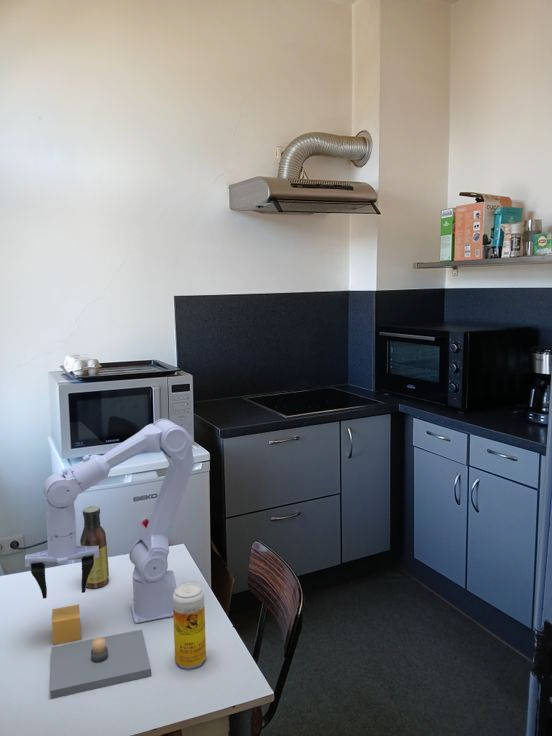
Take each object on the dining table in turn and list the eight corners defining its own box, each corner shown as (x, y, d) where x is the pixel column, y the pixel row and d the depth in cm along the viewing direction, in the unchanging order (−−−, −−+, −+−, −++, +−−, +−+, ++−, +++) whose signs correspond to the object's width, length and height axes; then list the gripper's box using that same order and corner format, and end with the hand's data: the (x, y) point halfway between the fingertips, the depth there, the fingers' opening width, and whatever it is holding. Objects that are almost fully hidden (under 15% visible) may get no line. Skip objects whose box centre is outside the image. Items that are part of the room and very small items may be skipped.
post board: (142, 635, 127) (141, 614, 126) (151, 675, 114) (150, 651, 113) (51, 654, 121) (50, 631, 120) (50, 698, 108) (48, 673, 107)
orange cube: (80, 625, 131) (79, 604, 130) (81, 639, 126) (79, 617, 125) (53, 630, 129) (52, 609, 129) (53, 644, 124) (51, 622, 124)
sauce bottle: (90, 576, 153) (85, 502, 150) (113, 578, 152) (109, 503, 150) (78, 589, 147) (73, 512, 144) (102, 591, 146) (98, 513, 143)
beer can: (180, 674, 114) (178, 600, 112) (171, 656, 120) (168, 586, 118) (210, 664, 117) (208, 592, 115) (199, 648, 123) (197, 579, 120)
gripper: (22, 544, 119) (25, 608, 120) (98, 534, 123) (100, 596, 125) (25, 530, 125) (28, 591, 127) (97, 522, 130) (99, 581, 132)
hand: (64, 593), depth 126 cm, fingers open, 7 cm apart
